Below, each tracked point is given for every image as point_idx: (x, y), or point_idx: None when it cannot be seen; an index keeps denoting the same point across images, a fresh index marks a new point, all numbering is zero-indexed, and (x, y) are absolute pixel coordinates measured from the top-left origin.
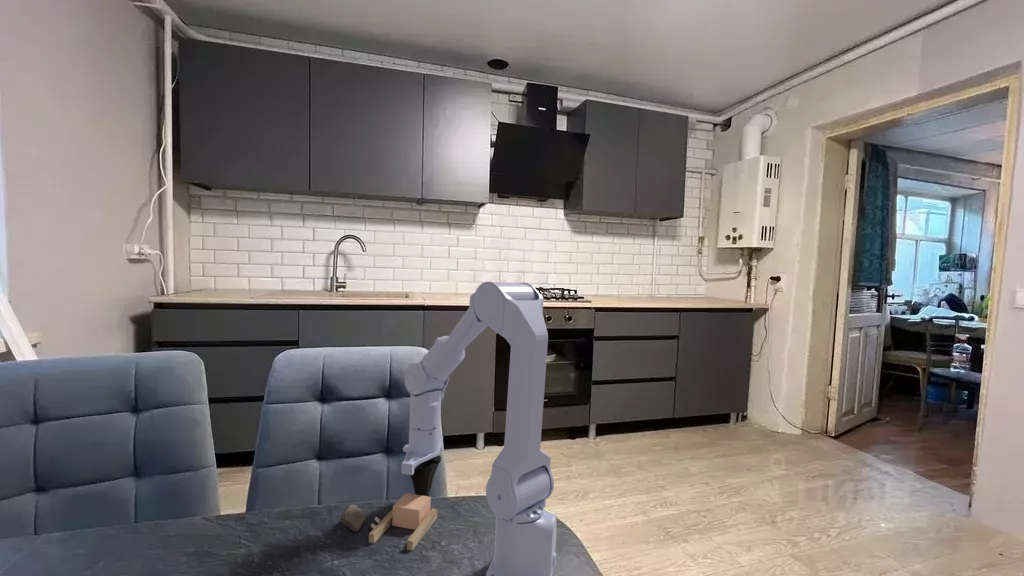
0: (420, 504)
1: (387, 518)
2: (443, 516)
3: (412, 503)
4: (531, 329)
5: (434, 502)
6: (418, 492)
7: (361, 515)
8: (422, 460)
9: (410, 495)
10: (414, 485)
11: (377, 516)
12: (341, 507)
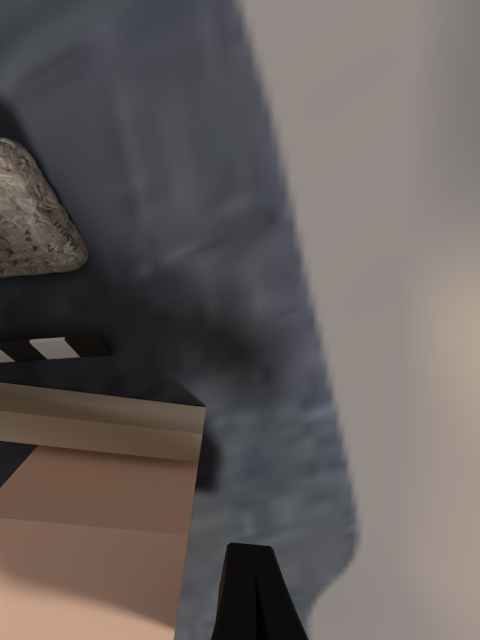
0: None
1: (10, 433)
2: (196, 594)
3: (52, 610)
4: None
5: (315, 538)
6: (221, 595)
7: (16, 256)
8: None
9: (159, 571)
10: (214, 635)
11: (76, 343)
12: (186, 26)
